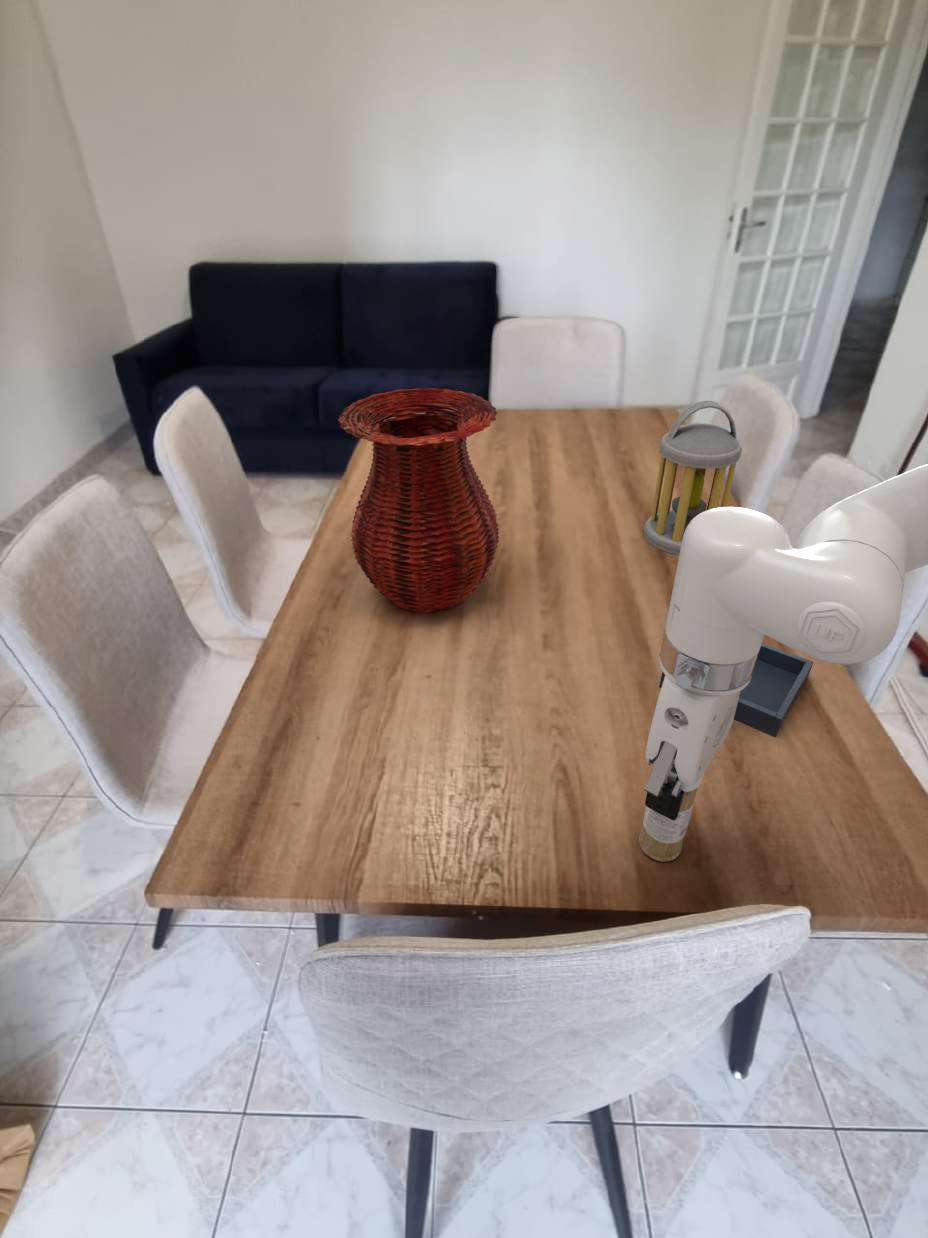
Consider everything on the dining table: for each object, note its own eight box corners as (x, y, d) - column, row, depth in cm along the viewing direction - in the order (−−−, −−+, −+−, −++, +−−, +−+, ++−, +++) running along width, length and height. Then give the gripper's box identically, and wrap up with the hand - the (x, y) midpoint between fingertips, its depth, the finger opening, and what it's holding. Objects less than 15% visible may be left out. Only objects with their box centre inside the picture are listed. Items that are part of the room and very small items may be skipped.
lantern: (711, 517, 130) (740, 387, 115) (732, 555, 119) (767, 416, 104) (637, 517, 131) (656, 388, 116) (651, 555, 120) (674, 417, 105)
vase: (350, 563, 120) (326, 394, 102) (478, 544, 124) (476, 379, 106) (368, 642, 102) (343, 453, 84) (517, 616, 106) (523, 432, 88)
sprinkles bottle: (655, 820, 75) (675, 736, 67) (690, 847, 72) (715, 762, 64) (628, 843, 73) (646, 758, 65) (663, 872, 70) (686, 787, 62)
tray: (807, 678, 93) (813, 661, 91) (775, 737, 84) (781, 719, 83) (698, 637, 101) (702, 620, 99) (659, 687, 92) (662, 669, 90)
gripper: (712, 732, 49) (672, 875, 60) (785, 619, 60) (740, 759, 71) (619, 690, 53) (597, 832, 64) (704, 591, 64) (672, 728, 74)
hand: (672, 792), depth 67 cm, fingers closed on sprinkles bottle, 4 cm apart
